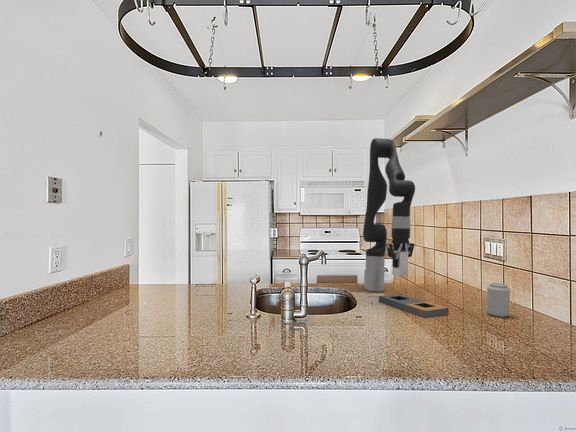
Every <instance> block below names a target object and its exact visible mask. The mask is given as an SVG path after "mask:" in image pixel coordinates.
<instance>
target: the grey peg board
mask: <svg viewBox="0 0 576 432" xmlns="http://www.w3.org/2000/svg"><path fill="white" fill-rule="evenodd" d="M378 302H379V303H381V304H383V305H386V306H389V307H392V308H394V309H395V308H396V309H399V310H401V311H403V312H406V313H407V312H408V313H411V314H413V315H416V316H418V317H422V318H425V319H426V318H427V319H428V318H433V317H434V318H435V317H440V316H441V317H442V316H446V315H447V316H448V315H449V307H448V306H444V305H441V304H438V303H434V302H430V301H425V300H422V299H418V298H416V297H411V296H408V295H404V294H398V293H397V294H389V295H388V294H387V295H386V294H385V295H379V296H378Z"/></svg>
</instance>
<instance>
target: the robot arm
mask: <svg viewBox="0 0 576 432" xmlns="http://www.w3.org/2000/svg"><path fill="white" fill-rule="evenodd" d="M379 158H380V159H381V158H382V159H388V161H387V163H386V164H385V167H384V168H385V169H384V171H385V174H386V177H387V179H388V184H387V181H386V178H385V177H384V175H383V173H382V171H381V169H380V165H379ZM405 179H406V175H405V172H404V170H403V168H402V166H401V164H400V161H399V156H398V151H397V148H396V144H395V142H394V140H393V139H390V138H377V137H376V138H373V139H372V140H371V142H370V147H369V175H368V185H367V194H366V195H367V197H366V198H367V199H366V209H365V217H364V224H363V229H362V230H363V231H362V238H363V240H364V241H365V242H366V243H375V244H374V245H373V246H371V247H370V248H367V249H366V251H365V269H364V274H363V275H364V282H363V283H364V284H363V288H364V290H365V291H369V292H370V291H371V292H384V291H385V256H386V251H387V255H388V258H391V263H392V264H391V267H392V266H393V267H394V268H398V254H399V252H400V251H404V252H408V259H409V258H412V257H413V252H414V249H415V243H412V242H410V241H409V239H410V238H411V217H410V216H411V205H412V203H413V202H412V201H413V198H414V196H415V192H416V185H415V183H414V181H412V180H407V179H406V180H405ZM388 191H389V194H390V195H391V196H392V197H398V198H399V197H400V198H403V199H402V201H400V202H395V203H393V205H392V217H391V218H392V220H391V238H392V241H391V242H389V243H387V237H388V234H387V233H388V230H387V227H386V225H385V224H383V223H374V222H375V218H376V215H377V213H378V212H379V211H380V209H381V208H382V206H383V205H384V203H385V201H386V200H387V194H388V193H387V192H388ZM395 253H396V255H395Z"/></svg>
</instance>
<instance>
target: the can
mask: <svg viewBox="0 0 576 432" xmlns="http://www.w3.org/2000/svg"><path fill="white" fill-rule="evenodd" d="M486 291H487V293H486V312H487V313H488V315H490V316H493V317H496V316H498V317H497V318H506V316H507V317H508V316H509V315H510V305H511V304H510V302H511V301H510V299H511V294H510V293H511V289H510V288H509V285H508V284H505V283H499V282H489V285H488V286H487V288H486Z"/></svg>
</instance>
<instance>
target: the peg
mask: <svg viewBox="0 0 576 432" xmlns="http://www.w3.org/2000/svg"><path fill="white" fill-rule="evenodd" d="M395 255H396V253H395ZM391 275H393V276H397V277H407V276H408V275H409V258H408V252H404V251H400V252H399V254H398V268H394V267H393V266H392V265H391Z"/></svg>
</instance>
